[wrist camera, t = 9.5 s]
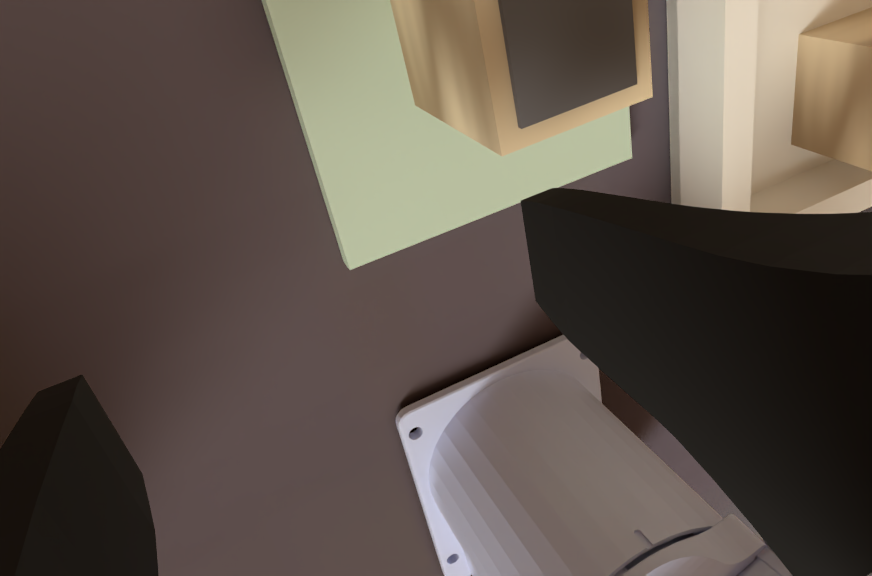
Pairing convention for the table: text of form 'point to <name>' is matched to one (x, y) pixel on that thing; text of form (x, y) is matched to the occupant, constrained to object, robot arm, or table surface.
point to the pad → (406, 135)
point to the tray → (749, 109)
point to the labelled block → (524, 64)
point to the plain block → (835, 90)
